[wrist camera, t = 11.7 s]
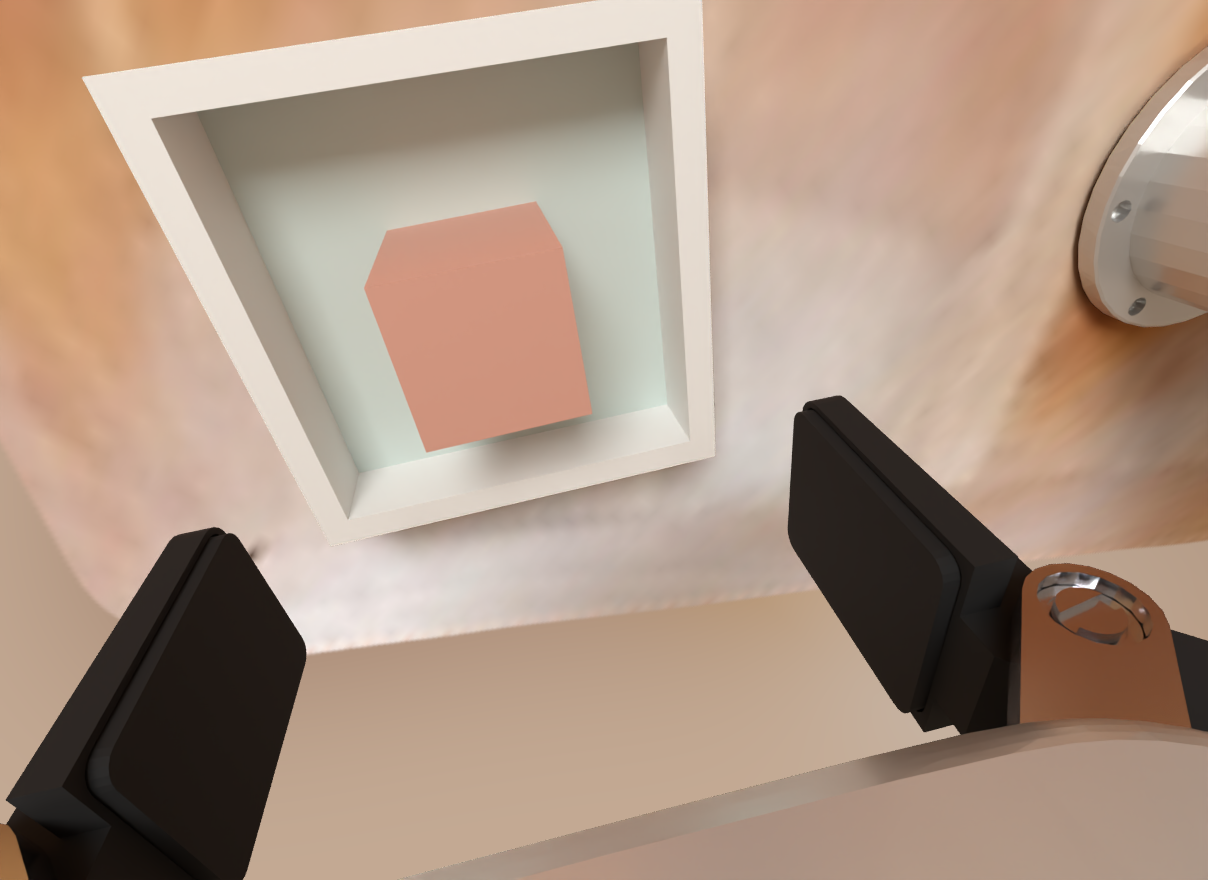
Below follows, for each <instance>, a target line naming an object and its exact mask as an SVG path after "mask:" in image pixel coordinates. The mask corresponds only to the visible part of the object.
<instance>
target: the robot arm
mask: <svg viewBox="0 0 1208 880" xmlns="http://www.w3.org/2000/svg"><path fill="white" fill-rule="evenodd" d="M1078 269H1079V273H1080V278H1081V282H1082V287H1083V289H1084V291H1085V293H1086V294H1087V296H1088V298H1089V300H1090V301H1091V303H1092V304H1093V305H1094V306H1096V307H1097V308H1098V309H1099V310H1100V311H1101V312H1102V313H1104V314H1106V315H1108V316H1111V317H1113V318H1115V319H1118V320H1120V321H1122V322H1125V323H1128V324H1132V325H1136V326H1140V327H1163V326H1168V325H1172V324H1176V323H1181V322H1185V321H1187V320H1190V319H1192V318H1195V317H1197V316H1200V315H1202V314H1205V313H1207V312H1208V46H1207V47H1206V48H1205V49H1203V50H1202V51H1201V52H1200V53H1198V54H1197V55H1196V56H1195V57H1193V58H1192V59H1191V60H1190V61H1188V62H1187V63H1186V64H1185V65H1183V66H1182V67H1181V68H1180V69H1179V70H1178V71H1177V72H1176V73H1175V74H1174V75H1173V76H1172V77H1171V78H1170V79H1169V80H1168V81H1167V82H1166V83H1165V84H1164V85H1163V86H1162V87H1161V88H1160V89H1159V90H1158V91H1157V92H1156V93H1155V94H1154V95H1153V96H1152V98H1151V99H1150V100H1149V101H1148V103H1147V104H1146V105H1145V106H1144V108H1143V109H1142V110H1141V111H1140V113H1139V114H1138V115H1137V116H1136V118H1135V119H1134V120H1133V121H1132V123H1131V124H1130V125H1129V127H1128V128H1127V130H1126V131H1125V133H1124V134H1123V136H1122V137H1121V139H1120V141H1119V142H1118V144H1117V145H1116V147H1115V148H1114V150H1113V151H1112V153H1111V155H1110V156H1109V158H1108V160H1107V162H1106V164H1105V166H1104V168H1103V170H1102V172H1101V174H1100V176H1099V178H1098V180H1097V182H1096V184H1095V186H1094V188H1093V191H1092V194H1091V197H1090V200H1089V203H1088V206H1087V209H1086V211H1085V214H1084V218H1083V223H1082V228H1081V233H1080V238H1079V244H1078ZM788 535H789V539H790V542H791V545H792V547H793V549H794V550H795V552H796V554H797V555H798V557H799V558H800V560H801V561H802V563H803V564H804V566H805V567H806V569H807V570H808V572H809V574H810V575H811V577H812V578H813V580H814V581H815V583H816V584H817V586H818V587H819V589H820V590H821V592H822V593H823V595H824V596H825V598H826V600H827V601H828V603H829V604H830V606H831V607H832V609H833V610H834V612H835V613H836V615H837V617H838V618H839V620H840V621H841V623H842V624H843V626H844V627H845V629H846V630H847V632H848V633H849V635H850V636H851V638H852V640H853V641H854V643H855V644H856V646H857V647H858V649H859V650H860V652H861V654H862V655H863V656H864V658H865V660H866V661H867V663H868V664H869V666H870V667H871V669H872V670H873V672H874V674H875V675H876V677H877V678H878V680H879V681H880V683H881V684H882V686H883V687H884V689H885V690H886V692H887V694H888V695H889V697H890V698H891V699H892V701H893V703H894V704H895V705H896V707H897V708H898V709H899V710H900V711H901V712H903V713H909V712H911V714H912V715H913V717H914V718H915V719H916V721H917V723H918V724H919V726H920V727H921V729H922V730H923V732H927V731H931V730H935V729H939V728H943V727H946V726H950V725H954V726H955V727H956V729H957V730H958V731H959V733H960V734H961V735H958V736H954V737H950V738H946V739H942V740H937V741H934V742H930V743H925V744H921V745H916V746H912V747H908V748H904V749H900V750H895V751H891V752H887V753H883V754H879V755H874V756H870V757H866V758H862V759H858V760H853V761H850V762H846V763H842V764H838V765H834V766H830V767H826V768H822V769H818V770H815V771H811V772H807V773H803V774H799V775H795V776H791V777H787V778H784V779H780V780H776V781H772V782H768V783H764V784H760V785H756V786H753V787H749V788H745V789H741V790H737V791H734V792H729V793H725V794H722V795H718V796H714V797H710V798H706V799H703V800H699V801H694V802H691V803H687V804H683V805H679V806H675V807H671V808H667V809H664V810H660V811H656V812H652V813H648V814H644V815H641V816H637V817H633V818H629V819H625V820H622V821H618V822H614V823H611V824H606V825H603V826H599V827H595V828H591V829H587V830H584V831H580V832H576V833H572V834H568V835H565V836H561V837H557V838H553V839H549V840H546V841H542V842H538V843H534V844H531V845H527V846H523V847H519V848H515V849H512V850H508V851H504V852H500V853H496V854H493V855H489V856H485V857H481V858H477V859H474V860H470V861H466V862H462V863H459V864H455V865H451V866H448V867H443V868H440V869H436V870H432V871H428V872H425V873H421V874H417V875H413V876H410V877H406V878H403V879H398V880H1208V641H1207V640H1203V639H1200V638H1197V637H1194V636H1190V635H1187V634H1184V633H1180V632H1177V631H1174V630H1171V629H1170V625H1169V623H1168V621H1167V619H1166V617H1165V614H1164V612H1163V611H1162V609H1161V608H1159V606H1158V605H1157V604H1156V603H1155V602H1154V601H1153V600H1152V598H1150V596H1148V595H1147V594H1146V593H1144V592H1143V591H1141V590H1140V589H1139V588H1137V587H1136V586H1134V585H1133V584H1132V583H1130V582H1128V581H1126V580H1124V579H1122V578H1119V577H1117V576H1115V575H1113V574H1111V573H1109V572H1106V571H1102V570H1099V569H1096V568H1093V567H1090V566H1083V565H1077V564H1070V563H1064V564H1049V565H1046V566H1043V567H1040V568H1037V569H1035V570H1034V571H1032V570H1031V569H1030V568H1028V567H1027V566H1026V565H1025V564H1024V563H1023V562H1022V561H1021V560H1020V559H1019V558H1018V556H1017V555H1016V554H1015V553H1013V552H1012V551H1011V550H1010V549H1009V548H1008V547H1007V546H1006V545H1005V544H1004V543H1003V542H1001V541H1000V540H999V539H998V538H997V537H996V536H995V535H994V534H993V533H992V532H991V531H989V530H988V529H987V528H986V527H985V526H984V525H983V524H982V523H981V522H980V521H979V520H977V519H976V518H975V517H974V516H973V515H972V514H971V513H970V512H969V511H968V510H967V509H965V508H964V507H963V506H962V505H961V504H960V503H959V502H958V501H957V500H956V499H955V498H953V497H952V496H951V495H950V494H949V493H948V492H947V491H946V490H945V489H944V488H943V487H941V486H940V485H939V484H938V483H937V482H936V481H935V480H934V479H933V478H932V477H931V476H929V475H928V474H927V473H926V472H925V471H924V470H923V469H922V468H921V467H920V466H919V465H917V464H916V463H915V462H914V461H913V460H912V459H911V458H910V457H909V456H908V455H907V454H905V453H904V452H903V451H902V450H901V449H900V448H899V447H898V446H897V445H896V444H895V443H893V442H892V441H891V440H890V439H889V438H888V437H887V436H886V435H885V434H884V433H883V432H881V431H880V430H879V429H878V428H877V427H876V426H875V425H874V424H873V423H872V422H871V421H869V420H868V419H867V418H866V417H865V416H864V415H863V414H862V413H861V412H860V411H859V410H857V409H856V408H855V407H854V406H853V405H852V404H851V403H850V402H849V401H848V400H847V399H845V398H844V397H842V396H833V397H828V398H823V399H818V400H814V401H809V402H807V403H806V404H805V405H804V407H803V411H802V412H798V413H797V414H796V415H795V418H794V429H793V446H792V464H791V481H790V498H789V515H788ZM305 662H306V646H305V643H304V640H303V638H302V637H301V635H300V634H299V632H298V631H297V629H296V627H295V626H294V624H293V623H292V621H291V620H290V618H289V616H288V615H287V613H286V612H285V610H284V609H283V607H282V606H281V604H280V602H279V601H278V599H277V598H276V596H275V595H274V593H273V591H272V590H271V588H270V587H269V585H268V584H267V582H266V581H265V579H264V577H263V576H262V574H261V573H260V571H259V570H258V568H257V566H256V565H255V563H254V562H253V560H252V559H251V557H250V556H249V554H248V552H247V551H246V549H245V548H244V546H243V545H242V543H241V541H240V540H239V539H238V537H237V536H236V535H234V534H231V533H228V534H226V533H225V532H224V531H223V530H221V529H220V528H216V527H213V528H208V529H203V530H198V531H194V532H189V533H184V534H179V535H177V536H174V537H173V538H172V539H171V540H170V541H169V543H168V544H167V546H166V548H165V549H164V551H163V552H162V554H161V555H160V557H159V559H158V560H157V562H156V563H155V565H154V567H153V568H152V570H151V571H150V573H149V574H148V576H147V578H146V579H145V581H144V582H143V584H142V585H141V587H140V589H139V590H138V592H137V593H136V595H135V597H134V598H133V600H132V601H131V603H130V604H129V606H128V608H127V609H126V611H125V612H124V614H123V615H122V617H121V619H120V620H119V622H118V624H117V625H116V627H115V628H114V630H113V631H112V633H111V634H110V636H109V638H108V639H107V641H106V642H105V644H104V646H103V647H102V649H101V650H100V652H99V653H98V655H97V657H96V658H95V660H94V661H93V663H92V664H91V666H90V668H89V669H88V671H87V672H86V674H85V675H84V677H83V679H82V680H81V682H80V683H79V685H78V687H77V688H76V690H75V691H74V693H73V694H72V696H71V698H70V699H69V701H68V702H67V704H66V705H65V707H64V709H63V710H62V712H61V713H60V715H59V717H58V718H57V720H56V721H55V723H54V724H53V726H52V728H51V729H50V731H49V732H48V734H47V735H46V737H45V739H44V740H43V742H42V743H41V745H40V747H39V748H38V750H37V751H36V753H35V754H34V756H33V758H32V759H31V761H30V762H29V764H28V765H27V767H26V769H25V771H24V772H23V773H22V775H21V776H20V778H19V780H18V781H17V783H16V784H15V786H14V788H13V789H12V791H11V792H10V794H9V796H8V797H7V799H6V801H8V802H9V803H10V804H12V805H13V806H15V807H16V809H15V811H14V813H13V814H12V816H11V818H10V819H9V821H8V822H7V824H1V823H0V880H243V878H244V877H245V874H246V872H247V869H248V865H249V862H250V858H251V855H252V851H253V848H254V844H255V841H256V837H257V833H258V830H259V826H260V823H261V819H262V816H263V812H264V808H265V805H266V801H267V798H268V794H269V791H270V787H271V783H272V780H273V776H274V773H275V769H276V766H277V762H278V759H279V755H280V751H281V748H282V744H283V741H284V737H285V734H286V730H287V726H288V723H289V719H290V716H291V712H292V709H293V705H294V702H295V698H296V695H297V691H298V687H299V684H300V680H301V677H302V673H303V669H304V666H305Z"/></svg>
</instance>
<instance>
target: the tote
mask: <svg viewBox="0 0 1208 880" xmlns="http://www.w3.org/2000/svg"><path fill="white" fill-rule="evenodd" d="M82 79H83V81H84V82H85V84H86V86H87V88H88V90H89V92H90V94H91V96H92V98H93V99H94V101H95V103H96V105H97V107H98V109H99V111H100V113H101V115H102V116H103V118H104V120H105V122H106V124H107V126H108V128H109V130H110V132H111V133H112V135H113V137H114V139H115V141H116V143H117V145H118V147H119V149H120V150H121V152H122V154H123V156H124V158H125V160H126V162H127V164H128V165H129V167H130V169H131V171H132V173H133V175H134V177H135V179H136V181H137V182H138V184H139V186H140V188H141V190H142V192H143V194H144V196H145V198H146V199H147V201H148V203H149V205H150V207H151V209H152V211H153V213H154V215H155V216H156V218H157V220H158V222H159V224H160V226H161V228H162V230H163V232H164V233H165V235H166V237H167V239H168V241H169V243H170V245H171V247H172V249H173V250H174V252H175V254H176V256H177V258H178V260H179V262H180V264H181V266H182V267H183V269H184V271H185V273H186V275H187V277H188V279H189V281H190V283H191V284H192V286H193V288H194V290H195V292H196V294H197V296H198V298H199V299H200V301H201V303H202V305H203V307H204V309H205V311H206V313H207V315H208V316H209V318H210V320H211V322H212V324H213V326H214V328H215V330H216V332H217V333H218V335H219V337H220V339H221V341H222V343H223V345H224V347H225V349H226V350H227V352H228V354H229V356H230V358H231V360H232V362H233V364H234V366H235V367H236V369H237V371H238V373H239V375H240V377H241V379H242V381H243V383H244V384H245V386H246V388H247V390H248V392H249V394H250V396H251V398H252V400H253V401H254V403H255V405H256V407H257V409H258V411H259V413H260V415H261V416H262V418H263V420H264V422H265V424H266V426H267V428H268V430H269V432H270V433H271V435H272V437H273V439H274V441H275V443H276V445H277V447H278V449H279V450H280V452H281V454H282V456H283V458H284V460H285V462H286V464H287V466H288V467H289V469H290V471H291V473H292V475H293V477H294V479H295V481H296V483H297V484H298V486H299V488H300V490H301V492H302V494H303V496H304V498H305V500H306V501H307V503H308V505H309V507H310V509H311V511H312V513H313V515H314V517H315V518H316V520H317V522H318V524H319V526H320V528H321V530H322V532H323V533H324V535H325V537H326V539H327V541H328V543H329V545H330V547H332V546H336V545H340V544H344V543H349V542H353V541H357V540H361V539H366V538H370V537H374V536H379V535H383V534H387V533H391V532H396V531H400V530H404V529H408V528H413V527H417V526H421V525H425V524H430V523H434V522H438V521H442V520H447V519H451V518H455V517H460V516H464V515H468V514H472V513H477V512H481V511H485V510H489V509H494V508H498V507H502V506H506V505H511V504H515V503H519V502H524V501H528V500H532V499H536V498H541V497H545V496H549V495H553V494H558V493H562V492H566V491H570V490H575V489H579V488H583V487H587V486H592V485H596V484H600V483H605V482H609V481H613V480H617V479H622V478H626V477H630V476H634V475H639V474H643V473H647V472H651V471H656V470H660V469H664V468H668V467H673V466H677V465H681V464H686V463H690V462H694V461H698V460H703V459H707V458H711V457H715V424H714V390H713V356H712V322H711V287H710V253H709V219H708V185H707V151H706V117H705V83H704V49H703V15H702V0H597V1H590V2H584V3H577V4H570V5H563V6H557V7H550V8H543V9H537V10H530V11H523V12H516V13H510V14H503V15H496V16H489V17H483V18H476V19H469V20H462V21H456V22H449V23H442V24H436V25H429V26H422V27H415V28H409V29H402V30H395V31H388V32H382V33H375V34H368V35H361V36H355V37H348V38H341V39H335V40H328V41H321V42H314V43H308V44H301V45H294V46H287V47H281V48H274V49H267V50H261V51H254V52H247V53H240V54H234V55H227V56H220V57H213V58H207V59H200V60H193V61H186V62H180V63H173V64H166V65H160V66H153V67H146V68H139V69H133V70H126V71H119V72H112V73H106V74H99V75H92V76H85V77H82ZM535 201H536V202H537V204H538V206H539V207H540V209H541V211H542V213H543V214H544V216H545V218H546V219H547V221H548V223H549V225H550V226H551V228H552V230H553V232H554V233H555V235H556V237H557V239H558V240H559V242H560V244H561V245H562V247H563V252H564V258H565V263H566V269H567V275H568V280H569V286H570V291H571V297H572V303H573V308H574V314H575V319H576V325H577V330H578V336H579V342H580V347H581V353H582V358H583V364H584V370H585V375H586V381H587V386H588V392H589V398H590V403H591V409H592V414H590V415H586V416H581V417H577V418H573V419H569V420H564V421H560V422H556V423H551V424H547V425H543V426H539V427H534V428H530V429H526V430H521V431H517V432H513V433H509V434H504V435H500V436H496V437H491V438H487V439H483V440H479V441H474V442H470V443H466V444H462V445H457V446H453V447H449V448H444V449H440V450H436V451H432V452H427V453H426V451H425V448H424V445H423V443H422V440H421V438H420V435H419V432H418V430H417V427H416V424H415V422H414V419H413V416H412V414H411V411H410V409H409V406H408V403H407V401H406V398H405V395H404V393H403V390H402V387H401V385H400V382H399V380H398V377H397V374H396V372H395V369H394V366H393V364H392V361H391V358H390V356H389V353H388V351H387V348H386V345H385V343H384V340H383V337H382V335H381V332H380V329H379V327H378V324H377V322H376V319H375V316H374V314H373V311H372V308H371V306H370V303H369V300H368V298H367V295H366V293H365V290H364V287H365V284H366V282H367V279H368V276H369V274H370V271H371V269H372V266H373V264H374V261H375V259H376V256H377V254H378V251H379V249H380V246H381V244H382V241H383V239H384V236H385V234H386V231H387V230H392V229H397V228H402V227H407V226H413V225H418V224H423V223H428V222H433V221H438V220H443V219H448V218H453V217H458V216H463V215H469V214H474V213H479V212H484V211H489V210H494V209H499V208H504V207H509V206H514V205H519V204H525V203H530V202H535Z"/></svg>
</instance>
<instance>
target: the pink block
mask: <svg viewBox="0 0 1208 880" xmlns="http://www.w3.org/2000/svg"><path fill="white" fill-rule="evenodd" d="M364 290H365V293H366V295H367V298H368V300H369V303H370V306H371V308H372V311H373V314H374V316H375V319H376V322H377V324H378V327H379V329H380V332H381V335H382V337H383V340H384V343H385V345H386V348H387V351H388V353H389V356H390V358H391V361H392V364H393V366H394V369H395V372H396V374H397V377H398V380H399V382H400V385H401V387H402V390H403V393H404V395H405V398H406V401H407V403H408V406H409V409H410V411H411V414H412V416H413V419H414V422H415V424H416V427H417V430H418V432H419V435H420V438H421V440H422V443H423V445H424V448H425V451H426V453H427V452H432V451H436V450H440V449H444V448H449V447H453V446H457V445H462V444H466V443H470V442H474V441H479V440H483V439H487V438H491V437H496V436H500V435H504V434H509V433H513V432H517V431H521V430H526V429H530V428H534V427H539V426H543V425H547V424H551V423H556V422H560V421H564V420H569V419H573V418H577V417H581V416H586V415H590V414H592V409H591V403H590V398H589V392H588V386H587V381H586V375H585V370H584V364H583V358H582V353H581V347H580V342H579V336H578V330H577V325H576V319H575V314H574V308H573V303H572V297H571V291H570V286H569V280H568V275H567V269H566V263H565V258H564V252H563V247H562V245H561V244H560V242H559V240H558V239H557V237H556V235H555V233H554V232H553V230H552V228H551V226H550V225H549V223H548V221H547V219H546V218H545V216H544V214H543V213H542V211H541V209H540V207H539V206H538V204H537V202H536V201H535V202H530V203H525V204H519V205H514V206H509V207H504V208H499V209H494V210H489V211H484V212H479V213H474V214H469V215H463V216H458V217H453V218H448V219H443V220H438V221H433V222H428V223H423V224H418V225H413V226H407V227H402V228H397V229H392V230H387V231H386V234H385V236H384V239H383V241H382V244H381V246H380V249H379V251H378V254H377V256H376V259H375V261H374V264H373V266H372V269H371V271H370V274H369V276H368V279H367V282H366V284H365V287H364Z"/></svg>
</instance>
